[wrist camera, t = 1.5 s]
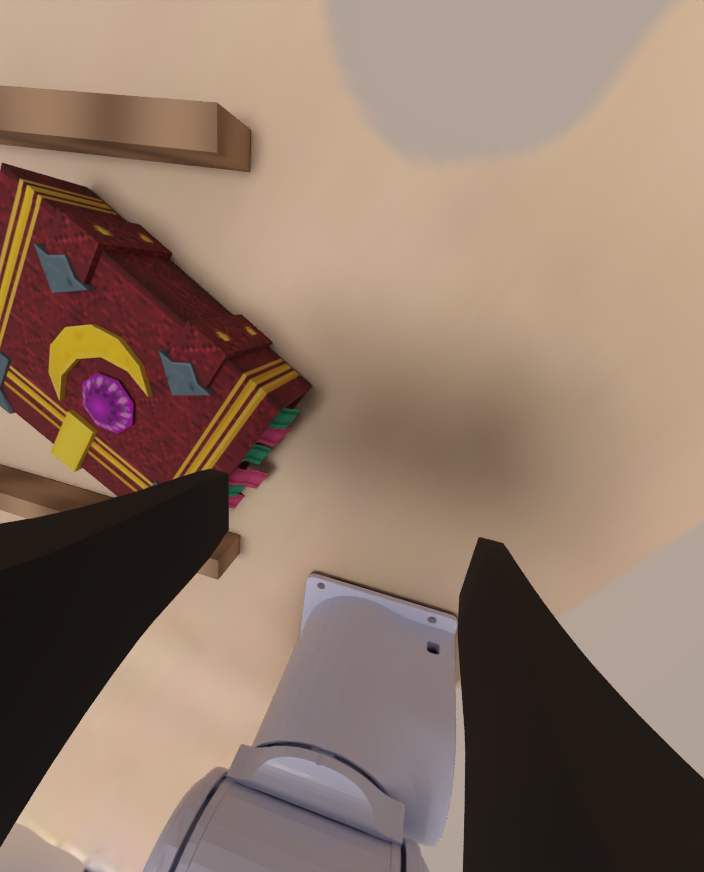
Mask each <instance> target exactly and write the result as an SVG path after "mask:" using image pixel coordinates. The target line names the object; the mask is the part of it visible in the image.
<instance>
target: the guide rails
mask: <svg viewBox="0 0 704 872" xmlns="http://www.w3.org/2000/svg"><path fill="white" fill-rule="evenodd" d="M250 138H251V130H250V129H249V128H248V127H247V126H245V125H244V124H243V123H242V122H240V121H239V120H238V119H237V118H235V117H234V116H233V115H232V114H230V113H229V112H228V111H227V110H226V109H224V108H223V107H222V106H221V105H219V104H218V103H215V102H202V101H189V100H176V99H164V98H151V97H138V96H126V95H113V94H100V93H87V92H75V91H62V90H49V89H37V88H24V87H11V86H0V144H5V145H14V146H23V147H32V148H41V149H50V150H59V151H68V152H77V153H86V154H95V155H104V156H113V157H121V158H130V159H139V160H148V161H157V162H166V163H175V164H184V165H193V166H202V167H211V168H220V169H229V170H238V171H246V172H250ZM108 499H112V498H111V497H108V496H105V495H101V494H98V493H94V492H91V491H88V490H84V489H81V488H78V487H74V486H71V485H67V484H64V483H61V482H57V481H54V480H50V479H47V478H44V477H40V476H37V475H34V474H30V473H27V472H23V471H20V470H17V469H13V468H10V467H6V466H3V465H0V510H3V511H6V512H9V513H12V514H15V515H18V516H21V517H24V518H28V519H31V518H35V517H40V516H45V515H49V514H54V513H58V512H63V511H67V510H71V509H75V508H80V507H83V506H87V505H91V504H95V503H98V502H101V501H105V500H108ZM239 548H240V535H237V534H233V533H230V532H227V533H226V535H225V536H224V538H223V539H222V541H221V542H220V544H219V545H218V547H217V548H216V550H215V551H214V553H213V554H212V555H211V557H210V558H209V559H208V561H207V562H206V563H205V564H204V565H203V566H202V568H201V569H200V570H199V571H198V572H197V573H199V574H202V575H205V576H208V577H211V578H214V579H217V580H218V579H219V578H220V577H221V576H222V574H223V573H224V572H225V571H226V569H227V568H228V567H229V566H230V564H231V563H232V562H233V561H234V559H235V558H236V557H237V556H238V554H239Z"/></svg>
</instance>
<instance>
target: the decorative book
mask: <svg viewBox="0 0 704 872" xmlns="http://www.w3.org/2000/svg"><path fill="white" fill-rule="evenodd" d="M171 255H172V253H171V252H170V251H169V250H168V249H167V248H166V247H164V246H163V245H162V244H161V243H160V242H159V241H158V240H157V239H155V238H154V237H153V236H152V235H151V234H150V233H149V232H148V231H146V230H145V229H144V228H143V227H142V226H141V225H138V224H134V223H129V222H126V221H124V220H123V219H122V218H121V217H120V216H119V215H118V214H117V213H115V212H114V211H113V210H112V209H111V208H110V207H109V206H107V205H106V204H105V203H104V202H103V201H102V200H101V199H100V198H98V197H97V196H96V195H95V194H94V193H93V192H92V191H90V190H89V189H88V188H87V187H84V186H81V185H77V184H74V183H70V182H67V181H63V180H60V179H56V178H53V177H50V176H46V175H43V174H39V173H36V172H32V171H29V170H25V169H22V168H18V167H15V166H11V165H8V164H5V163H2V165H1V170H0V406H1V407H2V408H3V409H5V410H6V411H7V412H8V413H10V414H11V413H15V412H16V413H17V414H18V415H19V416H20V417H22V418H23V419H24V420H25V421H26V422H28V423H29V424H30V425H31V426H33V427H34V428H35V429H36V430H37V431H39V432H40V433H41V434H42V435H43V436H45V437H46V438H47V439H48V440H50V441H51V442H52V443H53V444H54V445H53V447H52V450H51V452H50V453H52V454H53V455H54V456H55V457H57V458H58V459H59V460H60V461H61V462H63V463H64V464H65V465H66V466H68V467H69V468H70V469H71V470H72V471H74V472H75V471H77V470H79V469H81V468H84V469H85V470H86V471H87V472H88V473H90V474H91V475H92V476H93V477H95V478H96V479H97V480H98V481H99V482H101V483H102V484H103V485H104V486H105V487H107V488H108V489H109V490H110V491H112V492H113V493H114V494H115V495H116V496H122V495H125V494H129V493H132V492H135V491H139V490H142V489H145V488H148V487H151V486H154V485H157V484H160V483H163V482H166V481H169V480H172V479H175V478H178V477H181V476H185V475H188V474H191V473H194V472H198V471H201V470H206V469H214V470H218V471H222V472H226V473H229V507H230V508H235V507H236V506H237V505H238V504H239V502H240V501H241V500H242V499H243V497H244V496H243V495H239V493H240V492H241V490H242V489H243V488H244V487H245V486H248V487H252V488H255V489H257V488H258V486H259V485H260V484H261V483H262V482H263V480H264V479H265V478H266V477H267V476H268V475H269V474H266V473H263V472H259V471H256V470H246V469H247V467H248V466H249V465H250V464H251V463H255V464H258V465H259V464H260V463H261V462H262V460H263V459H264V458H265V457H266V455H267V454H268V453H269V452H270V451H271V448H268V447H265V445H269V446H272V447H273V446H275V445H277V444H278V443H280V442H281V441H282V439H283V438H284V437H285V436H286V434H287V433H288V432H289V431H290V429H291V428H292V427H293V426H292V427H290V428H288V429H286V428H287V427H288V426H289V425H290V423H291V422H292V421H293V420H294V419H295V417H296V416H297V415H298V414H299V412H300V411H301V410H298V409H294V408H295V407H296V406H297V404H298V403H299V402H300V401H301V399H302V398H303V397H304V396H305V394H306V393H307V392H308V390H309V389H310V388H311V387H312V385H311V384H309V383H308V382H307V381H306V380H305V379H304V378H303V377H302V376H300V375H299V374H298V373H297V372H296V371H295V370H294V369H292V368H291V367H290V366H289V365H288V364H287V363H286V362H285V361H283V360H282V359H281V358H280V357H279V356H278V355H277V354H275V353H274V352H273V351H272V350H271V349H270V348H269V346H270V344H271V343H272V341H271V340H270V339H269V338H267V337H266V336H265V335H264V334H263V333H262V332H261V331H259V330H258V329H257V328H256V327H255V326H254V325H253V324H252V323H250V322H249V321H248V320H247V319H246V318H245V317H244V316H243V315H233V316H232V315H231V314H230V313H229V312H228V311H227V310H225V309H224V308H223V307H222V306H221V305H220V304H219V303H218V302H216V301H215V300H214V299H213V298H212V297H211V296H210V295H208V294H207V293H206V292H205V291H204V290H203V289H202V288H201V287H199V286H198V285H197V284H196V283H195V282H194V281H193V280H191V279H190V278H189V277H188V276H187V275H186V274H185V273H184V272H182V271H181V270H180V269H179V268H178V267H177V266H176V265H174V264H173V263H172V262H171V261H170V260H169V259H170V257H171Z"/></svg>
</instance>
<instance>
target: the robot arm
mask: <svg viewBox="0 0 704 872" xmlns="http://www.w3.org/2000/svg"><path fill="white" fill-rule="evenodd" d="M228 530H229V473H226V472H222V471H218V470H214V469H206V470H201V471H198V472H194V473H191V474H188V475H185V476H181V477H178V478H175V479H172V480H169V481H166V482H163V483H160V484H157V485H154V486H151V487H148V488H145V489H142V490H139V491H135V492H132V493H129V494H125V495H122V496H118V497H115V498H112V499H108V500H105V501H101V502H98V503H95V504H91V505H87V506H83V507H80V508H75V509H71V510H67V511H63V512H58V513H54V514H49V515H45V516H40V517H35V518H31V519H25V520H19V521H13V522H7V523H2V524H0V847H1V845H2V844H3V842H4V840H5V839H6V837H7V835H8V834H9V832H10V830H11V829H12V827H13V825H14V824H15V822H16V820H17V819H18V817H19V816H20V814H21V812H22V811H23V809H24V808H25V806H26V804H27V803H28V801H29V800H30V798H31V796H32V795H33V793H34V792H35V790H36V788H37V787H38V785H39V784H40V782H41V780H42V779H43V777H44V776H45V774H46V772H47V771H48V769H49V768H50V766H51V764H52V763H53V761H54V760H55V758H56V757H57V755H58V754H59V752H60V751H61V749H62V748H63V746H64V745H65V743H66V742H67V740H68V739H69V737H70V736H71V734H72V733H73V731H74V730H75V728H76V727H77V725H78V724H79V722H80V721H81V719H82V718H83V716H84V715H85V713H86V712H87V710H88V709H89V707H90V706H91V705H92V703H93V702H94V700H95V699H96V698H97V696H98V695H99V693H100V692H101V690H102V689H103V688H104V686H105V685H106V683H107V682H108V680H109V679H110V678H111V676H112V675H113V673H114V672H115V671H116V669H117V668H118V667H119V665H120V664H121V663H122V661H123V660H124V659H125V657H126V656H127V654H128V653H129V652H130V650H131V649H132V648H133V646H134V645H135V644H136V642H137V641H138V640H139V638H140V637H141V636H142V635H143V633H144V632H145V631H146V630H147V629H148V627H149V626H150V625H151V624H152V623H153V621H154V620H155V619H156V618H157V617H158V616H159V615H160V614H161V612H162V611H163V610H164V609H165V608H166V607H167V606H168V605H169V604H170V602H171V601H172V600H173V599H174V598H175V597H176V596H177V595H178V593H179V592H180V591H181V590H182V589H183V588H184V587H185V586H186V585H187V583H188V582H189V581H190V580H191V579H192V578H193V577H194V576H195V574H196V573H197V572H198V571H199V570H200V569H201V568H202V566H203V565H204V564H205V563H206V562H207V561H208V559H209V558H210V557H211V555H212V554H213V553H214V551H215V550H216V548H217V547H218V545H219V544H220V542H221V541H222V539H223V538H224V536H225V535H226V533H227V532H228ZM321 583H323V584H324V585H323V584H321ZM430 617H434V618H430ZM457 627H458V647H459V661H460V675H461V688H462V701H463V715H464V729H465V813H464V852H463V872H704V779H703V778H702V777H701V776H700V775H699V774H698V773H697V772H696V771H695V770H694V769H693V768H692V767H691V766H690V765H689V764H688V763H686V762H685V761H684V760H683V759H682V758H681V757H680V756H679V755H678V754H677V753H676V752H675V751H674V750H673V749H672V748H671V747H670V746H669V745H668V744H667V743H666V742H665V741H664V740H663V739H662V738H661V737H660V736H659V735H658V734H657V733H656V732H655V731H654V730H653V729H652V728H651V727H650V726H649V725H648V724H647V723H646V722H645V721H644V720H643V719H642V718H641V717H640V716H639V715H638V714H637V713H636V712H635V710H634V709H633V708H632V707H631V706H629V704H628V703H627V702H626V701H625V700H624V699H623V698H622V697H621V696H620V695H619V693H618V692H617V691H616V690H615V689H614V688H613V687H612V686H611V684H610V683H609V682H608V681H607V680H606V679H605V678H604V677H603V676H602V675H601V674H600V673H599V671H598V670H597V669H596V668H595V667H594V666H593V665H592V663H591V662H590V661H589V660H588V658H587V657H586V656H585V655H584V654H583V653H582V651H581V650H580V649H579V648H578V647H577V645H576V644H575V643H574V641H573V640H572V639H571V638H570V636H569V635H568V634H567V633H566V632H565V630H564V629H563V628H562V627H561V625H560V624H559V622H558V621H557V620H556V618H555V617H554V616H553V614H552V613H551V612H550V610H549V609H548V608H547V606H546V605H545V604H544V602H543V601H542V599H541V598H540V597H539V595H538V594H537V592H536V591H535V590H534V588H533V587H532V585H531V584H530V582H529V581H528V579H527V578H526V576H525V575H524V573H523V572H522V571H521V569H520V568H519V566H518V565H517V563H516V562H515V560H514V558H513V557H512V555H511V554H510V552H509V551H508V549H507V548H506V547H505V545H504V544H503V543H501V542H497V541H493V540H489V539H485V538H481V537H479V538H478V541H477V544H476V547H475V550H474V553H473V556H472V559H471V562H470V565H469V568H468V571H467V574H466V577H465V580H464V583H463V586H462V589H461V592H460V595H459V612H458V621H457V618H456V617H455V616H453V615H451V614H447V613H444V612H441V611H438V610H434V609H431V608H428V607H424V606H421V605H418V604H414V603H411V602H408V601H405V600H401V599H398V598H395V597H391V596H388V595H385V594H381V593H378V592H375V591H372V590H368V589H365V588H362V587H358V586H355V585H352V584H348V583H345V582H342V581H339V580H335V579H332V578H329V577H325V576H322V575H319V574H314V573H313V574H310V575H309V576H308V578H307V581H306V589H305V597H304V605H303V613H302V621H301V629H300V637H299V639H298V641H297V644H296V646H295V648H294V651H293V653H292V655H291V657H290V660H289V662H288V664H287V667H286V669H285V671H284V674H283V676H282V678H281V680H280V683H279V685H278V687H277V690H276V692H275V694H274V696H273V699H272V701H271V703H270V706H269V708H268V710H267V712H266V715H265V717H264V719H263V722H262V724H261V726H260V729H259V731H258V733H257V735H256V738H255V740H254V742H253V745H252V747H251V746H247V745H244V744H242V745H240V747H239V749H238V752H237V754H236V756H235V758H234V760H233V762H232V764H231V767H230V769H227V768H224V767H216V768H214V769H213V770H211V771H210V772H209V773H208V774H207V775H205V777H204V778H202V779H201V780H199V781H198V782H197V783H195V784H194V785H193V786H192V787H191V788H190V790H189V791H188V792H187V793H186V794H185V796H184V797H183V798H182V800H181V801H180V803H179V804H178V806H177V807H176V809H175V810H174V812H173V814H172V815H171V817H170V819H169V820H168V822H167V824H166V825H165V827H164V829H163V831H162V833H161V835H160V837H159V838H158V840H157V842H156V844H155V846H154V848H153V850H152V852H151V854H150V857H149V859H148V861H147V863H146V865H145V867H144V870H143V872H429V870H428V867H427V865H426V863H425V861H424V859H423V857H422V855H421V851H420V847H419V845H418V844H417V843H419V844H423V845H426V846H436V845H437V844H438V843H439V841H440V839H441V836H442V834H443V831H444V827H445V824H446V820H447V816H448V811H449V806H450V800H451V793H452V785H453V776H454V765H455V748H456V747H455V746H456V697H455V696H456V695H455V633H456V630H457ZM402 840H403V841H402Z"/></svg>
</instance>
